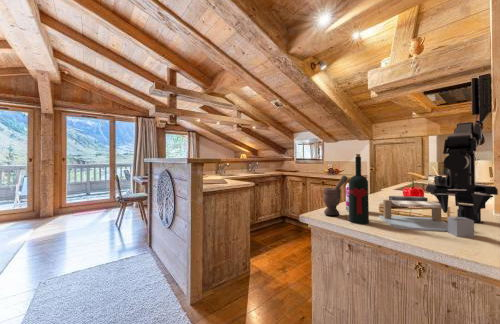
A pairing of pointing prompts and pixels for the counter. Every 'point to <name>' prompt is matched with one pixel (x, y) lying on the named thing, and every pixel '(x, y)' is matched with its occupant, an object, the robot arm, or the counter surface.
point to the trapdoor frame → (414, 220)
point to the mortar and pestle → (333, 197)
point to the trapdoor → (413, 201)
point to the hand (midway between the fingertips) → (460, 213)
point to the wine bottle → (358, 196)
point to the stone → (461, 227)
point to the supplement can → (347, 197)
